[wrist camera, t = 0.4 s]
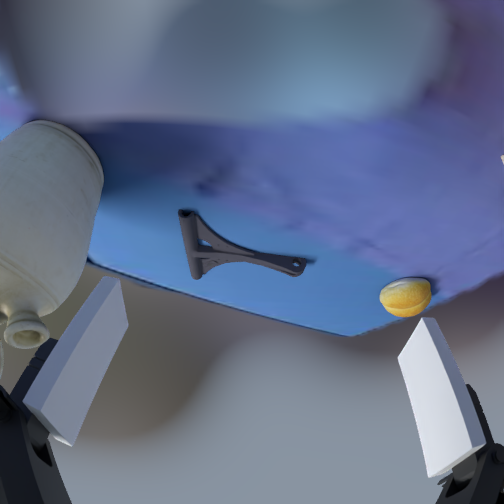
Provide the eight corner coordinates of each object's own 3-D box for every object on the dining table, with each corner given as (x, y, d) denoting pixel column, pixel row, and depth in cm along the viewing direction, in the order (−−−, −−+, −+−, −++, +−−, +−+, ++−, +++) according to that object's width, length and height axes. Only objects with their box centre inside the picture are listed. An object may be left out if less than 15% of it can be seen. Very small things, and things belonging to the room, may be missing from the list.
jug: (127, 124, 21) (10, 457, 8) (114, 222, 34) (57, 429, 21) (-3, 92, 17) (-137, 343, 4) (16, 188, 29) (-54, 372, 16)
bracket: (294, 281, 43) (293, 299, 42) (192, 268, 43) (188, 286, 42) (319, 221, 31) (320, 243, 30) (180, 204, 31) (173, 225, 30)
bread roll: (427, 269, 36) (432, 296, 34) (430, 293, 42) (434, 316, 40) (373, 281, 40) (375, 307, 38) (384, 303, 46) (386, 325, 44)
